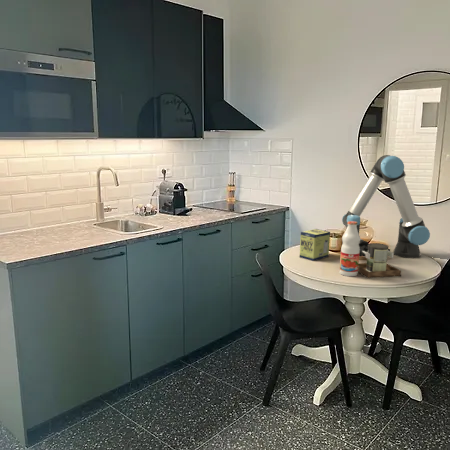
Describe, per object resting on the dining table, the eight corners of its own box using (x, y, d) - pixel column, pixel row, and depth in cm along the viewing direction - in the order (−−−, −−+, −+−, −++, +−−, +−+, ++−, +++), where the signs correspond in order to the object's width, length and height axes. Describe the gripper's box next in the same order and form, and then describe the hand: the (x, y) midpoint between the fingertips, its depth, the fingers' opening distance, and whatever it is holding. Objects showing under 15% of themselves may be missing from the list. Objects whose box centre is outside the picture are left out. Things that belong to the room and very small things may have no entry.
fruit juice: (357, 272, 242) (361, 220, 236) (357, 277, 233) (362, 224, 227) (339, 270, 244) (343, 219, 238) (339, 275, 235) (342, 222, 229)
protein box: (298, 257, 268) (300, 231, 265) (314, 253, 278) (316, 228, 275) (313, 261, 261) (314, 235, 257) (329, 256, 271) (330, 231, 268)
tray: (383, 267, 251) (384, 261, 251) (400, 276, 236) (401, 270, 236) (352, 268, 247) (352, 263, 247) (367, 278, 232) (368, 272, 231)
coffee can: (362, 271, 241) (365, 245, 238) (370, 266, 249) (372, 242, 246) (381, 275, 234) (384, 248, 232) (388, 270, 242) (391, 245, 240)
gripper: (379, 251, 260) (401, 261, 240) (339, 253, 255) (358, 264, 235) (380, 238, 259) (402, 248, 239) (340, 240, 253) (360, 250, 233)
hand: (381, 256), depth 237 cm, fingers open, 13 cm apart
